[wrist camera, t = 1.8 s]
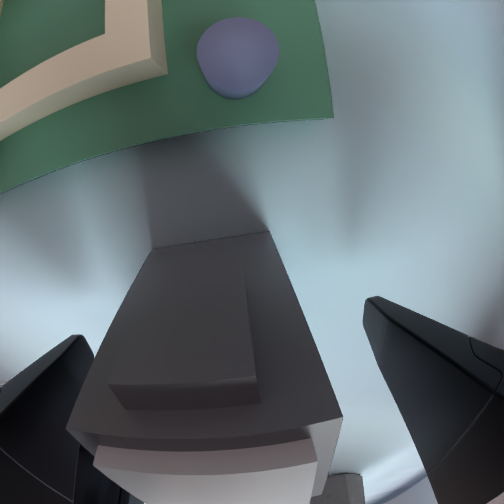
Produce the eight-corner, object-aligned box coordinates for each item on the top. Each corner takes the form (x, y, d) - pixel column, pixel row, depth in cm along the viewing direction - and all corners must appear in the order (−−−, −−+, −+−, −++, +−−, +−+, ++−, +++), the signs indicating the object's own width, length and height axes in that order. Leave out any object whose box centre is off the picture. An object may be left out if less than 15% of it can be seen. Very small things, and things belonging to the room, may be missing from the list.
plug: (180, 339, 11) (157, 517, 4) (148, 232, 9) (35, 424, 2) (278, 326, 11) (324, 507, 4) (267, 213, 9) (360, 416, 2)
